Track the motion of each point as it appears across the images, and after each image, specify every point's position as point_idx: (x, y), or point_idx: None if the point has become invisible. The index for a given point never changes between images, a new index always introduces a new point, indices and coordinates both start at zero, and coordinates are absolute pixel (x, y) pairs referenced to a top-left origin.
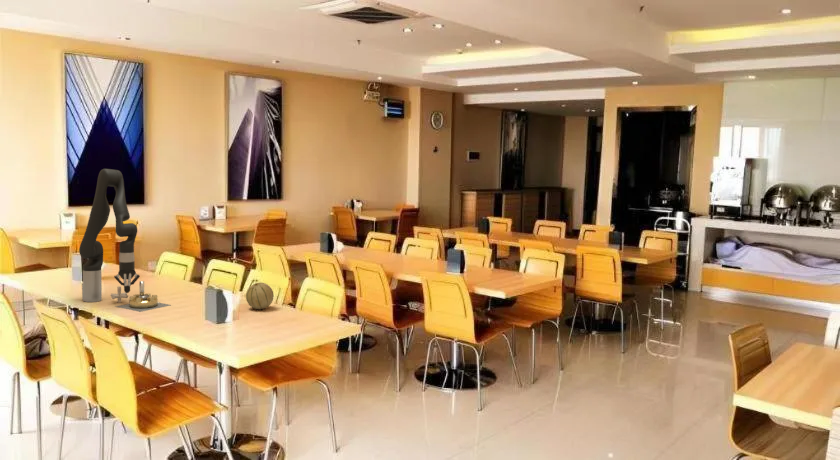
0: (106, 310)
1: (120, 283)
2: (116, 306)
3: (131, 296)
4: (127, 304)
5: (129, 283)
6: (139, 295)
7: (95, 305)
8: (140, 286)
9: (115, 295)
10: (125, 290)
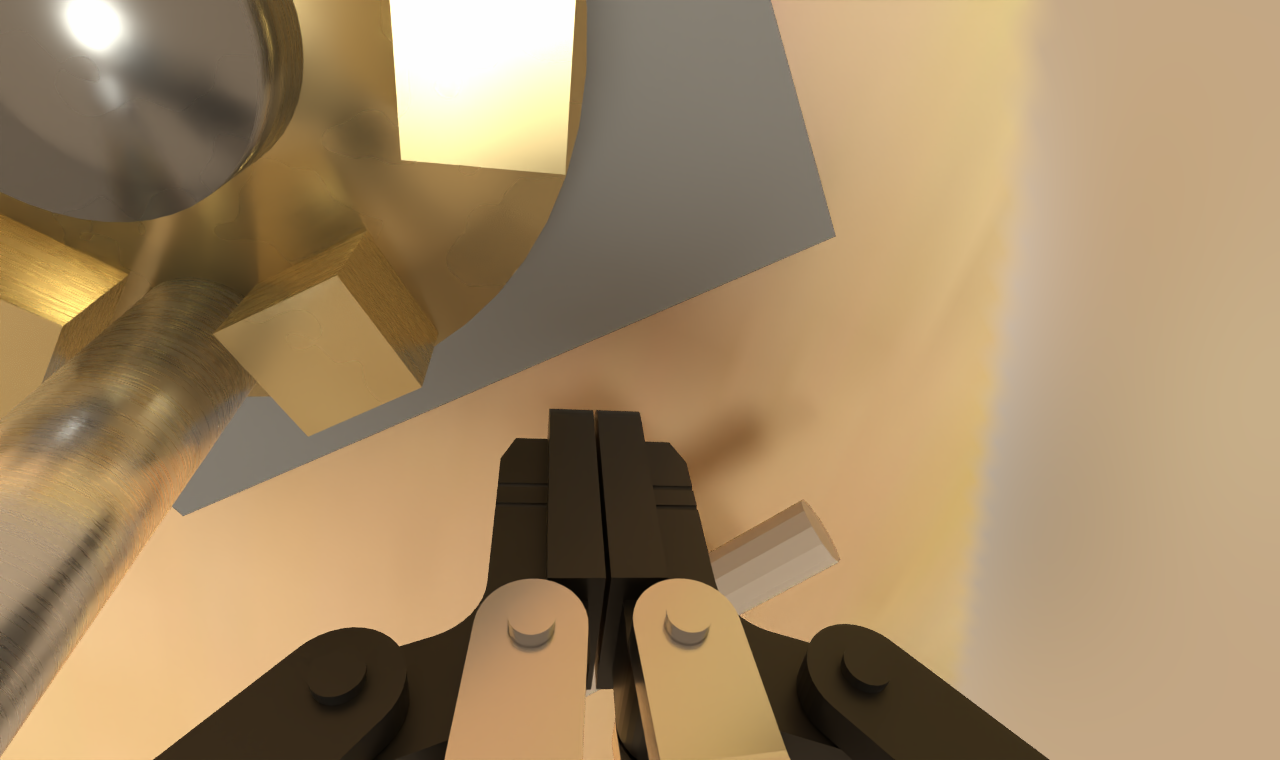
0: (972, 185)
1: (950, 704)
2: (810, 219)
3: (506, 163)
4: (569, 311)
5: (512, 690)
6: (240, 313)
7: (926, 554)
8: (23, 545)
9: (770, 572)
10: (655, 476)
